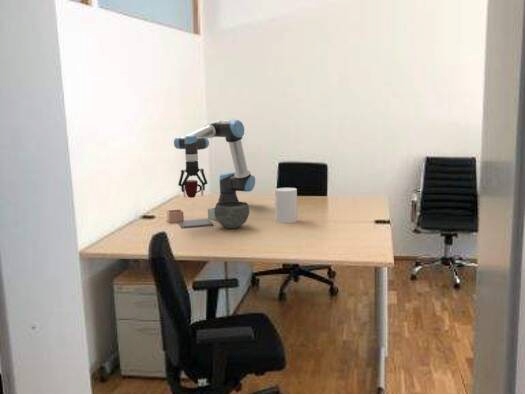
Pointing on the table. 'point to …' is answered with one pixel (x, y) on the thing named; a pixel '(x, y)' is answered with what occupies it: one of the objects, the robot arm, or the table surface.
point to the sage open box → (211, 214)
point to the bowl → (231, 213)
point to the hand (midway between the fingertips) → (193, 196)
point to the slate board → (195, 223)
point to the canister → (286, 205)
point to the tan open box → (175, 215)
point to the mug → (191, 188)
